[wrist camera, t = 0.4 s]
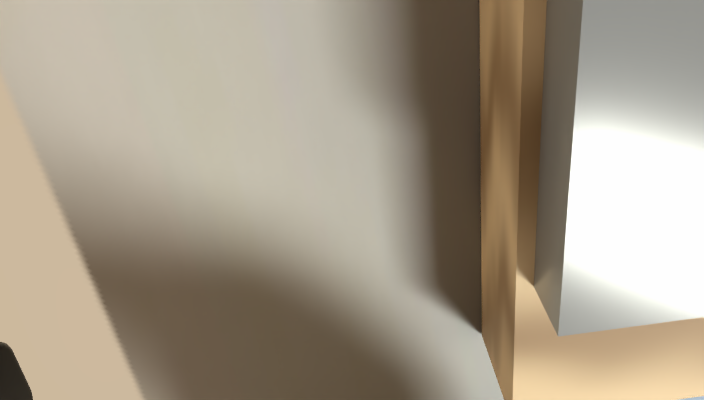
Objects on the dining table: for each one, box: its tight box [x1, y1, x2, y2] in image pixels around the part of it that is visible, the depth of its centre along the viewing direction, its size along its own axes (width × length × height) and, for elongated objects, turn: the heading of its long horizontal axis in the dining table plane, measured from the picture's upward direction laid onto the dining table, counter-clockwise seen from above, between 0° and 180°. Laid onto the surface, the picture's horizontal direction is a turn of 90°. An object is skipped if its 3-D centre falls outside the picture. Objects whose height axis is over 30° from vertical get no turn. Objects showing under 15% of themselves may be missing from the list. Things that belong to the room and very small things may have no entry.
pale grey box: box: [534, 0, 704, 337], centre depth 15 cm, size 9×6×2 cm, turn 6°
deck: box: [480, 0, 704, 400], centre depth 18 cm, size 20×8×4 cm, turn 6°
